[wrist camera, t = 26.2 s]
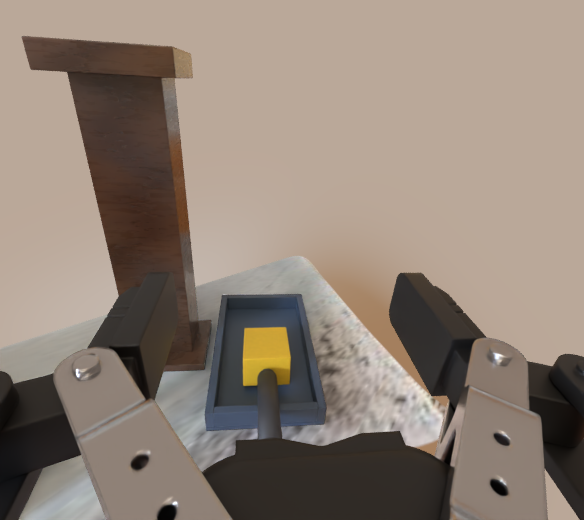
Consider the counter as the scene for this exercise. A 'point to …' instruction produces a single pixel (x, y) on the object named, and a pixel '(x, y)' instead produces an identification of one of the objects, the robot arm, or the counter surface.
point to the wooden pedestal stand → (135, 166)
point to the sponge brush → (267, 374)
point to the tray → (229, 364)
